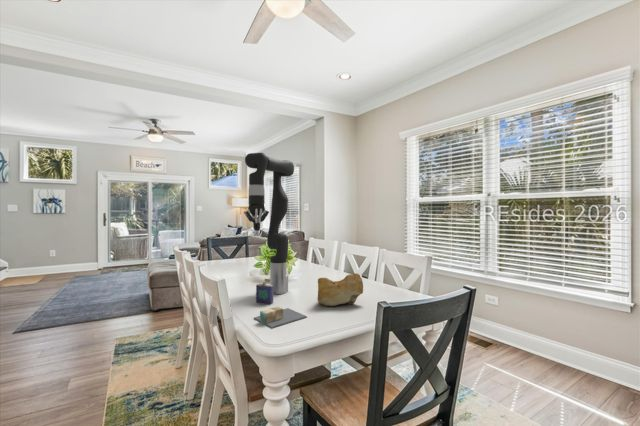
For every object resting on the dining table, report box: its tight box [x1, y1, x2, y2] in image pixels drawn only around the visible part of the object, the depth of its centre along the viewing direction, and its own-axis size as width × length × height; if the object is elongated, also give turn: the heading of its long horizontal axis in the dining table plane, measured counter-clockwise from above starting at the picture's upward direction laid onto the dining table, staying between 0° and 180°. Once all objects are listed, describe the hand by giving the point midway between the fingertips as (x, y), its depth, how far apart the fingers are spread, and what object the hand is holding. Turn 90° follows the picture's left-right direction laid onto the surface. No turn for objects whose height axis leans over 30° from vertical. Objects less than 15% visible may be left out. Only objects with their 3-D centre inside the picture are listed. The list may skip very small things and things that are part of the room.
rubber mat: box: [253, 307, 308, 329], centre depth 134 cm, size 18×14×1 cm
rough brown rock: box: [317, 273, 364, 307], centre depth 157 cm, size 23×17×15 cm
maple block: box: [259, 306, 284, 323], centre depth 131 cm, size 4×4×9 cm
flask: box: [255, 281, 274, 305], centre depth 155 cm, size 9×3×11 cm, turn 74°
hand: (256, 230), depth 148 cm, fingers closed
